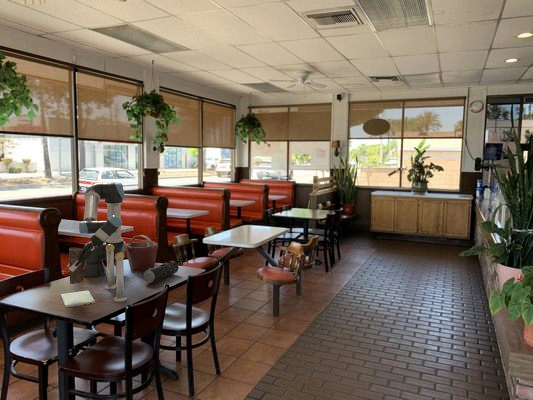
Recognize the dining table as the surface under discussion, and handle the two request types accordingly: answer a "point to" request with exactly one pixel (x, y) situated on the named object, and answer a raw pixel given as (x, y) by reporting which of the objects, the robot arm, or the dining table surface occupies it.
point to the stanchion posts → (119, 273)
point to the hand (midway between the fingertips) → (69, 268)
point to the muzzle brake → (160, 272)
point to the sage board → (77, 298)
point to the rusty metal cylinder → (78, 273)
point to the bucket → (141, 254)
